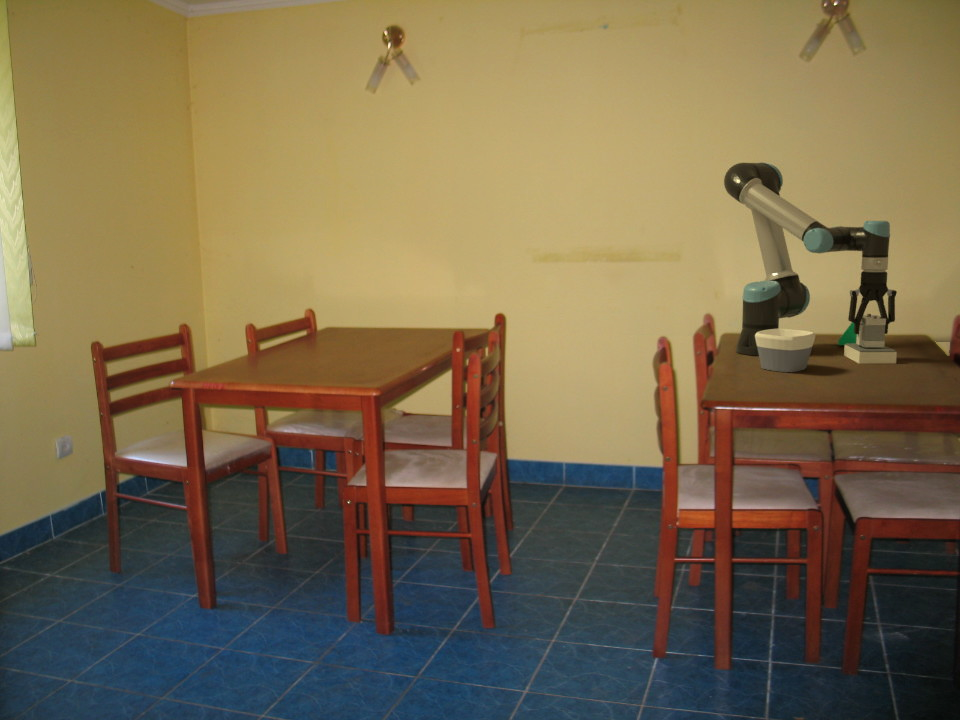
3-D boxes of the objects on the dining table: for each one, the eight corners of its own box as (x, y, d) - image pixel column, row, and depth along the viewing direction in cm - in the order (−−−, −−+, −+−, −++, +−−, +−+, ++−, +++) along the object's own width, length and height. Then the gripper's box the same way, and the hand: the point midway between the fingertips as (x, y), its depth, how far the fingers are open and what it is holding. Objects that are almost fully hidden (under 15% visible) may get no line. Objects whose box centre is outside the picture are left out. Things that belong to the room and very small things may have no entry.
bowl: (746, 369, 271) (748, 332, 269) (775, 362, 281) (776, 327, 279) (792, 375, 260) (794, 337, 258) (820, 368, 269) (822, 332, 268)
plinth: (859, 363, 276) (859, 350, 276) (844, 355, 291) (844, 343, 290) (896, 363, 275) (896, 350, 274) (879, 355, 290) (879, 343, 289)
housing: (864, 347, 279) (866, 316, 277) (856, 343, 287) (857, 313, 285) (884, 347, 278) (886, 316, 276) (875, 343, 286) (877, 313, 284)
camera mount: (877, 346, 308) (879, 316, 307) (876, 349, 302) (878, 319, 300) (839, 344, 314) (841, 315, 312) (838, 347, 307) (839, 318, 305)
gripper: (846, 272, 275) (842, 346, 279) (910, 271, 274) (905, 346, 278) (839, 270, 283) (835, 342, 287) (901, 269, 281) (897, 342, 285)
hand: (870, 344), depth 282 cm, fingers closed on housing, 6 cm apart
